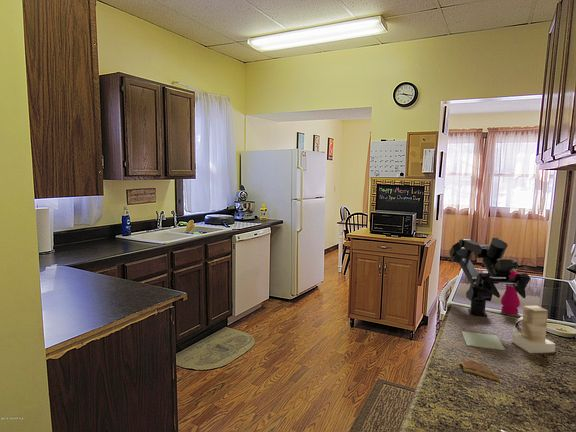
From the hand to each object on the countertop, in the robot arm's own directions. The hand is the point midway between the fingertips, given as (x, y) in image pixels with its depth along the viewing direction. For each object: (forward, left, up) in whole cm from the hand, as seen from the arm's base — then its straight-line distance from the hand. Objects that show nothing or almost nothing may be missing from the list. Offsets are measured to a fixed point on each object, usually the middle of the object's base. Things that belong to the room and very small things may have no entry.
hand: (512, 297), depth 137 cm
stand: (+6, +6, -15) cm, 17 cm away
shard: (+29, -15, -16) cm, 37 cm away
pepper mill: (-30, +8, -16) cm, 35 cm away
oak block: (+6, +6, -12) cm, 15 cm away
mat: (+6, -10, -15) cm, 19 cm away
